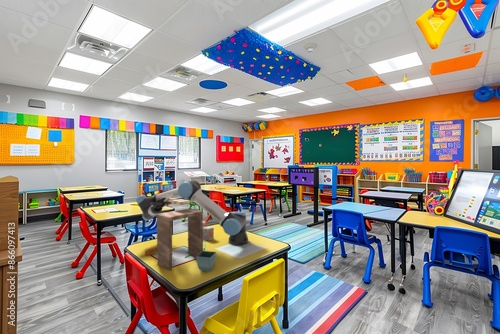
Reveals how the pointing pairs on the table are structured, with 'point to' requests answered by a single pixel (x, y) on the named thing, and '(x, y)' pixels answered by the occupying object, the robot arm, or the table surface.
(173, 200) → the salad server
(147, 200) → the robot arm
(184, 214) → the shelf
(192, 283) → the table surface
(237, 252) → the table surface
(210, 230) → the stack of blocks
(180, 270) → the table surface
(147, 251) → the kendama
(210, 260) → the flower pot
